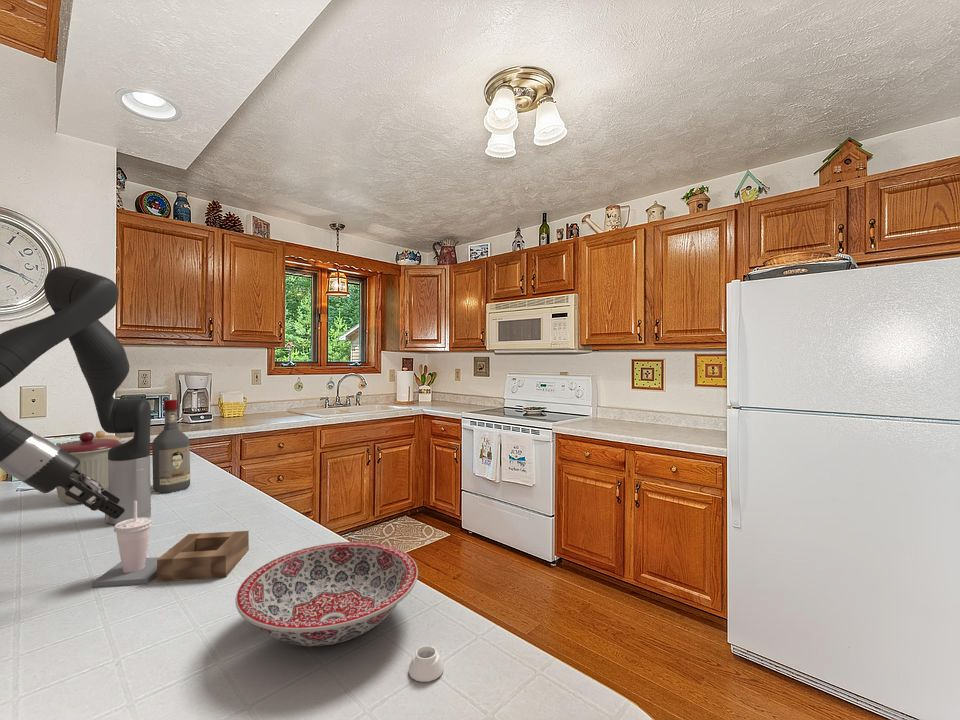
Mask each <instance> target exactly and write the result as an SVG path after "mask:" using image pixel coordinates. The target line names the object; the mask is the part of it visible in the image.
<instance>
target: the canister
mask: <svg viewBox="0 0 960 720" xmlns="http://www.w3.org/2000/svg"><path fill="white" fill-rule="evenodd" d="M94 436H95V434H94V433H93V432H91V431H90V432H89V431H87V432H82V433H80V434H79V436H78V437H79V440H73V441H67V442H63V443H60V444H58V445H57V444H56V445H57V446H58V447H60V448H61V449H63V450H65V451H66V452H68V453H70V454H71V455H73V456H75V457H76V458H78V459H79V460H80V465H79V466H78V468H77V469H76V470H78V471H79V472H80V473H84V474H86V475H87V476H88V477H90V478H91V479H93V480H95V481H96V482H98V483H100V485H101V486H103V488H104V490H105V488H107V487H109V482H108V451H109V449H111V448H112V447H115V446H118V445H120V444H123V443H124V442H122V441H120V440H118V441H117V440H114V439H93V438H94ZM55 489H56V493H57V496H58V499H59V500H60V502H62V503H64V504H69V503H70V504H71V505H72V504H73V505H76V504H77V503H79V504H81V503H80V502H78V501H76V500H74V499H73V498H71V497H69V496H66V494H65V492H66V491H64V490H65V489H64V488H62V487H61V486H58V487H56V488H55ZM104 490H103V491H104ZM95 498H96V497H95ZM95 498H94V499H93V500H92V501H93V502H95V501H96V500H95ZM70 504H69V505H70Z"/></svg>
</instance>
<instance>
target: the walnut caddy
mask: <svg viewBox="0 0 960 720" xmlns="http://www.w3.org/2000/svg"><path fill="white" fill-rule="evenodd" d="M249 536H250V535H249V530H237V531H217V532H202V533H201V532H200V533H188V534H187V535H185V536H184V537H183V538H182V539H181V540H179V541H178V542H176V543H175V544H174V545H173V546H172V547H171V548H169V549H168V550H167V551H165V553H163V554H162V555H161V556H159V557H160V558H158V559H157V576H156V579H157V582H173V581H174V582H175V581H187V580H188V581H190V580H203V579H217V578H226V577H228V576H229V574H230V573H231V572H232V571H233V570H234V568H235V567H236V566H237V564H238V563H239V562H240V561H241V560H242V559H243V558H244V556H246V554H247V553H248V551H250V549H249V548H250V547H249V544H250V543H249ZM246 552H247V553H246Z"/></svg>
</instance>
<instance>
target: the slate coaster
mask: <svg viewBox="0 0 960 720" xmlns="http://www.w3.org/2000/svg"><path fill="white" fill-rule="evenodd" d="M160 557H161V556H158V557H157V556H156V557H146V561H145V567H144V568H143V569H141V570H139V571H135V572H130V573H125V572H123V569H122V563H121V561H119V562H118V563H117V564H116V565H115V566H113V567H111V568H110V569H109V570H107V571H106V572H104V573H103V574H102V575H100V576H99V577H98V578H96V579H95V580H93V581H92V582H91V583H92V584H91V585H92V588H99V587H101V588H102V587H117V586H127V585H128V586H129V585H147V584H149V583H150V582H151V581H152V580H153V579H154V578H157V559H158V558H160Z"/></svg>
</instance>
